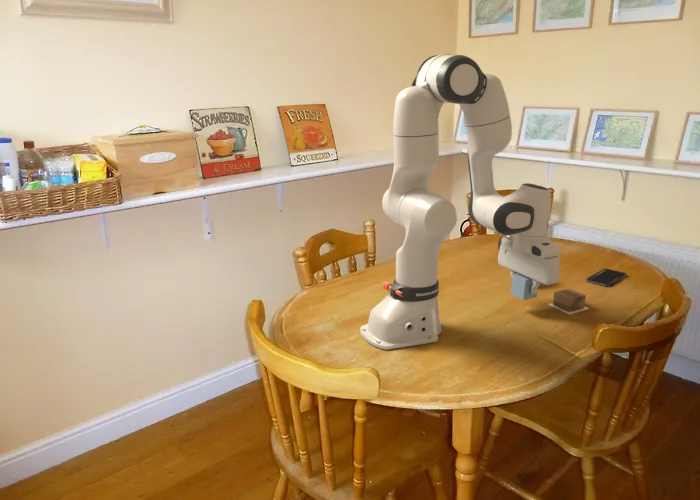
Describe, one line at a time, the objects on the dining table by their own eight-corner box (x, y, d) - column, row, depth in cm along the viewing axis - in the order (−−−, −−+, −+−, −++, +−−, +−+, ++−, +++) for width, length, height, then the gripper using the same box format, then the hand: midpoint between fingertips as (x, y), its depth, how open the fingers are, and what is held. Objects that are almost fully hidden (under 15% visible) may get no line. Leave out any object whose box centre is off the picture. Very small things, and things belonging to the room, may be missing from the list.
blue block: (523, 300, 154) (525, 280, 152) (510, 294, 158) (512, 274, 156) (536, 297, 156) (539, 277, 154) (523, 291, 160) (526, 271, 158)
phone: (585, 279, 182) (604, 268, 192) (584, 282, 183) (604, 271, 192) (609, 285, 177) (628, 273, 187) (609, 288, 177) (627, 276, 187)
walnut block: (569, 312, 157) (570, 299, 156) (553, 304, 162) (554, 292, 161) (584, 308, 160) (585, 295, 158) (567, 300, 165) (569, 288, 163)
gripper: (494, 234, 160) (490, 279, 164) (548, 254, 142) (542, 303, 146) (511, 232, 162) (507, 276, 167) (566, 250, 145) (559, 299, 149)
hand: (524, 289), depth 156 cm, fingers closed on blue block, 5 cm apart
